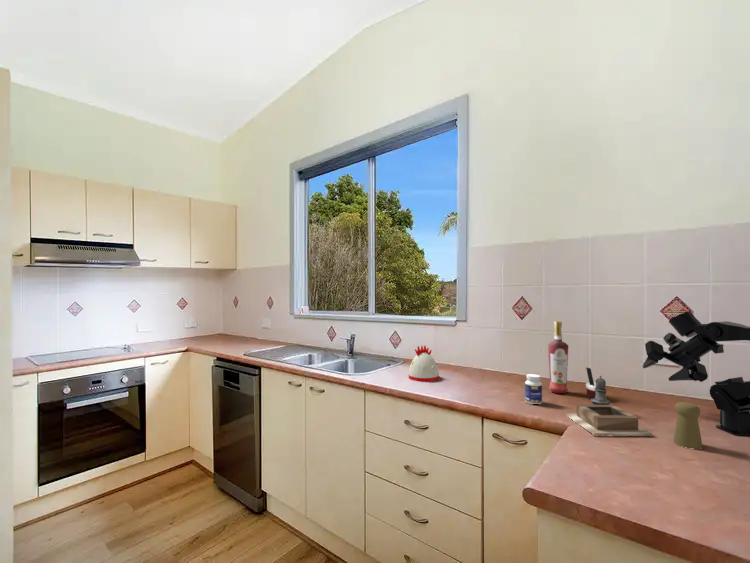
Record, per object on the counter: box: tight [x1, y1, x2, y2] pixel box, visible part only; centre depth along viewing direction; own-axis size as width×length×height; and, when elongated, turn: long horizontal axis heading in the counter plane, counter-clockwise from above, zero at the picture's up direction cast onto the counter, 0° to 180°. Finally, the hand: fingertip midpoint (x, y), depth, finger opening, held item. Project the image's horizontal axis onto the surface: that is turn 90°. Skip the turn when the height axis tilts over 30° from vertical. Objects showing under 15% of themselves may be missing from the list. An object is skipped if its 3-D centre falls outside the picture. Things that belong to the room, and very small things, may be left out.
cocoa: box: [585, 367, 596, 400], centre depth 140 cm, size 10×6×12 cm, turn 98°
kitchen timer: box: [408, 344, 440, 383], centre depth 172 cm, size 14×14×15 cm
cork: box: [672, 401, 704, 450], centre depth 100 cm, size 6×6×11 cm
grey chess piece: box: [590, 375, 612, 405], centre depth 126 cm, size 6×6×12 cm
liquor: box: [547, 321, 569, 395], centre depth 148 cm, size 7×7×28 cm
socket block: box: [565, 404, 652, 438], centre depth 113 cm, size 16×16×4 cm
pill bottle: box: [524, 373, 543, 405], centre depth 135 cm, size 6×6×10 cm
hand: (656, 373), depth 129 cm, fingers open, 9 cm apart
